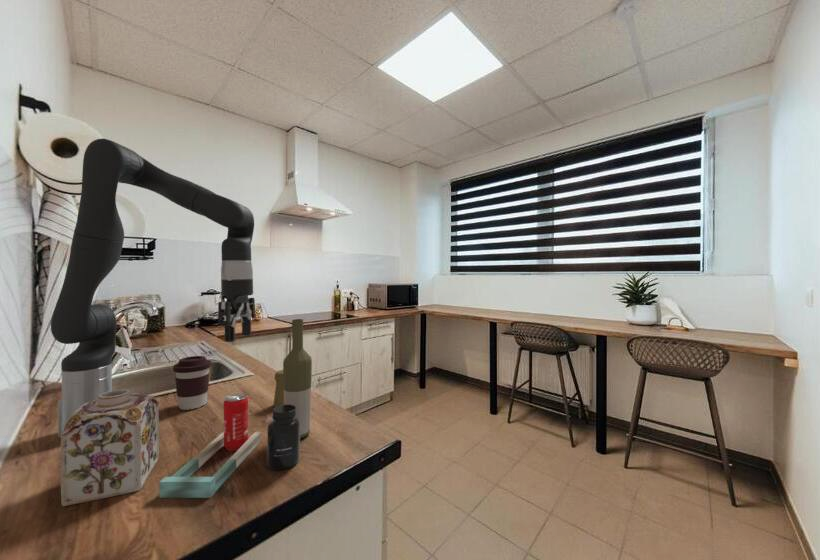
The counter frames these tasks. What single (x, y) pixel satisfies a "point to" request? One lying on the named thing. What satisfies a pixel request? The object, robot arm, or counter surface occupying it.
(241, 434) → the beverage can
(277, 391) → the cork
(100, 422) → the decorative jar
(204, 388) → the coffee cup
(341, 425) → the counter surface
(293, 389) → the bottle
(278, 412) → the supplement bottle
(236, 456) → the beam
